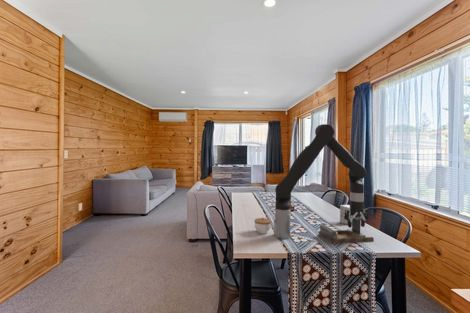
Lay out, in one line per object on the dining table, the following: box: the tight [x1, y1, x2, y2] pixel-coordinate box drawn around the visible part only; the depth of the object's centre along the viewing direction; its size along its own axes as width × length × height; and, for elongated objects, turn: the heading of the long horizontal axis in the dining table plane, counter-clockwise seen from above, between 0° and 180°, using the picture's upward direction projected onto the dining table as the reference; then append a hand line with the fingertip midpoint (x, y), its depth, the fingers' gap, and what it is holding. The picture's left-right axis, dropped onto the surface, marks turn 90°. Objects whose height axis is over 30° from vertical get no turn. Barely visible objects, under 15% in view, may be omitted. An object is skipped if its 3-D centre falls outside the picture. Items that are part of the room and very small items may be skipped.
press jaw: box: [346, 217, 367, 238], centre depth 141 cm, size 4×11×11 cm, turn 10°
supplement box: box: [339, 204, 356, 225], centre depth 174 cm, size 7×7×13 cm
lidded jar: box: [254, 217, 272, 235], centre depth 152 cm, size 11×11×9 cm
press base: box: [318, 224, 375, 244], centre depth 140 cm, size 26×14×8 cm, turn 100°
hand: (356, 226), depth 141 cm, fingers open, 8 cm apart
